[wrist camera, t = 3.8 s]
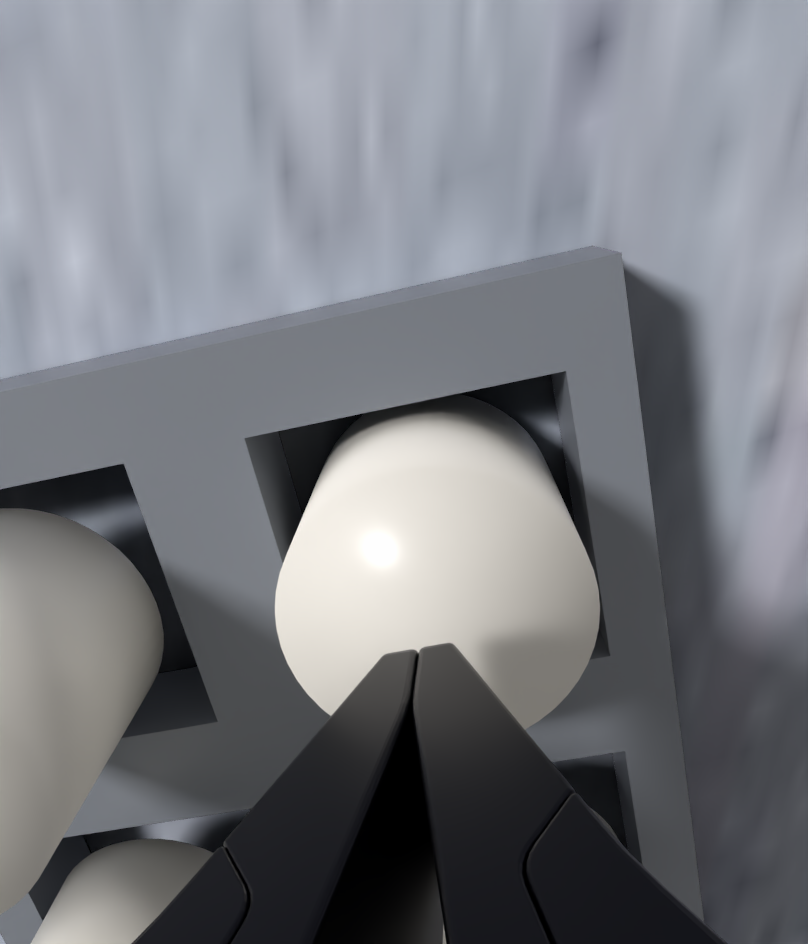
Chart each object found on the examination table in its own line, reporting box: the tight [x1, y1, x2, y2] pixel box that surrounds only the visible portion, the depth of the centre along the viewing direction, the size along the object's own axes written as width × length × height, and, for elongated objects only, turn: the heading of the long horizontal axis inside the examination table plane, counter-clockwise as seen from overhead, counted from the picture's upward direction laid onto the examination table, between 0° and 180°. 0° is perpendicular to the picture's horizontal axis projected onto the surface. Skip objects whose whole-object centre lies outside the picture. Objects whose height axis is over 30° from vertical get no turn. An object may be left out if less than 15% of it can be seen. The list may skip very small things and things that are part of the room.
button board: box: [0, 246, 704, 944], centre depth 15 cm, size 14×20×2 cm
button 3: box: [275, 394, 600, 729], centre depth 12 cm, size 4×4×4 cm
